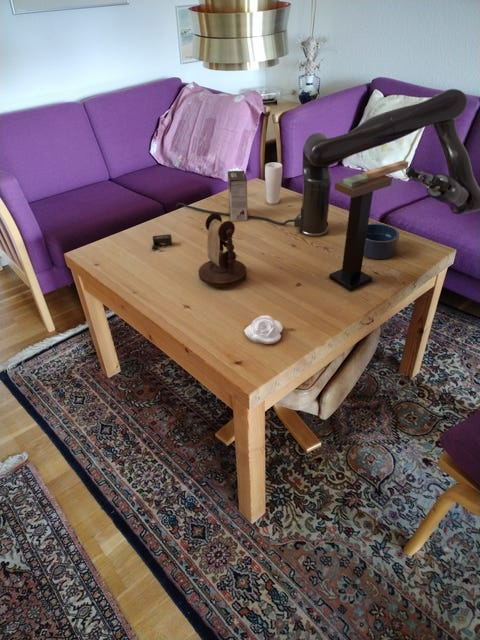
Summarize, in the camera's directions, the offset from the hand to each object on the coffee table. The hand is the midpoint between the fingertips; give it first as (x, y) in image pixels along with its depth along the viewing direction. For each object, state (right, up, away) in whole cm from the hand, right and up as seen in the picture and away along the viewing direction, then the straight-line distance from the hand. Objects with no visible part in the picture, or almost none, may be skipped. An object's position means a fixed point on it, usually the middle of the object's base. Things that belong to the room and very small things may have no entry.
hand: (419, 174), depth 137 cm
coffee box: (-53, -2, +45) cm, 69 cm away
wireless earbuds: (-79, -17, +26) cm, 85 cm away
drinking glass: (-39, +6, +54) cm, 67 cm away
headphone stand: (-19, -30, +6) cm, 36 cm away
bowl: (-7, -19, +20) cm, 29 cm away
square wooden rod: (-15, -4, -10) cm, 19 cm away
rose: (-46, -46, -14) cm, 66 cm away
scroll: (-57, -29, +9) cm, 65 cm away
